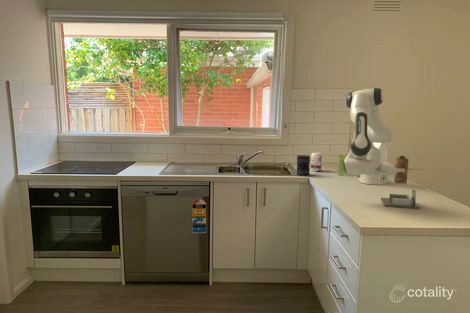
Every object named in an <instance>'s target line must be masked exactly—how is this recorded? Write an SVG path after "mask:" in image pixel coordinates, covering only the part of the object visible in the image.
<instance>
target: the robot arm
mask: <svg viewBox="0 0 470 313" xmlns="http://www.w3.org/2000/svg"><path fill="white" fill-rule="evenodd" d="M384 98H385V95H384V91H383V89H381V87H374V88H363V89H359V90H355V91H350V92H348V93H347V94H346V95H345V100H344V102H345V105H346V107H347V108H348V109H350V110H349V111H350V112H349V113H350V121H351V122H352V123H353V124H354V132H353V138H352V139H351V142H350V148H349V152H348V155H347V157H346V158H345V159H344V160H343V168H344V171H345V172H346V173H347V174H352V175H360V176H359V178H358V180H357V181H358V182H359V183H361V184H366V185H378V186H379V185H380V186H384V185H386V184H388V183H390V182H391V181H392V180H391V179H390V178H389V179H388V176H395V175H397V172H405V169H404V168H396V167H395V165H393V164H392V163H391V162H388V161H387V162H383V161H381V152H380V150H379V149H378V148H376V147H375V146H374V145H373V142H376V143H384V144H385V143H390V142H392V141H393V139H394V137H395V131H394V130H393V129H392V127H389V126H388V125H386V123H385V122H384V121H383V120H382V118H381V116H380V112H379V105H382V103H383V101H384Z"/></svg>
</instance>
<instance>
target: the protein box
mask: <svg viewBox="0 0 470 313" xmlns="http://www.w3.org/2000/svg"><path fill="white" fill-rule="evenodd" d="M347 155H348V154H347V153H346V154H345V153H341V154H339V155H338V166H337V175H338V174H339V175H338V176H343V175H349V176H348V177H353V176H357V177H359V178H360V175H352V174H347V173H346V172H345V171H344V168H343V160H344V159H345V158H346V157H347ZM357 177H356V178H357Z"/></svg>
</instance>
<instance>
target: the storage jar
mask: <svg viewBox="0 0 470 313" xmlns="http://www.w3.org/2000/svg"><path fill="white" fill-rule="evenodd" d="M310 158H311V155H305V154H302V155H301V154H299V155H297V156H296V176H298V175H299V177H309V176H310V171H311V167H310V164H311V159H310ZM308 175H309V176H308Z"/></svg>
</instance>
